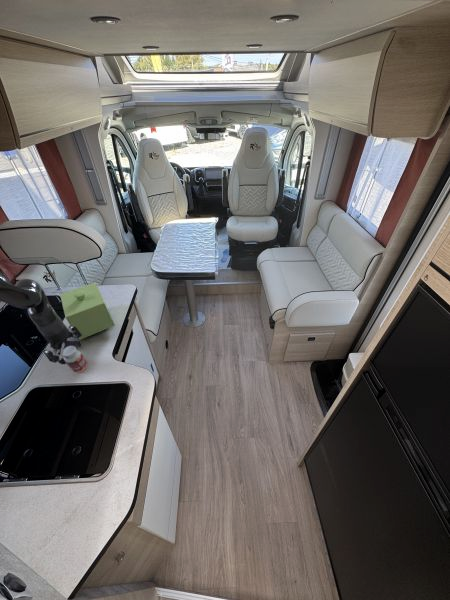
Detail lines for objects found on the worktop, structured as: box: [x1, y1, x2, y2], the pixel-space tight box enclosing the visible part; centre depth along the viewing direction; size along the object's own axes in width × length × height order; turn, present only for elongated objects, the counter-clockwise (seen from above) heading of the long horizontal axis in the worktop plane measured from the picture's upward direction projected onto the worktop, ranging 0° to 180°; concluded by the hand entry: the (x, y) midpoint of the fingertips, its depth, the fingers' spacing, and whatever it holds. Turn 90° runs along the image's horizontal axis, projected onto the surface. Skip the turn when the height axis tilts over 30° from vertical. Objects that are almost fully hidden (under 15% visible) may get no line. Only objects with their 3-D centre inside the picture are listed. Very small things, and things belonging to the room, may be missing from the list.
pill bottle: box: [62, 345, 88, 374], centre depth 105 cm, size 6×6×11 cm
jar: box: [66, 332, 76, 347], centre depth 117 cm, size 8×8×6 cm
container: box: [59, 282, 116, 341], centre depth 121 cm, size 19×16×20 cm
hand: (71, 354), depth 103 cm, fingers open, 8 cm apart
